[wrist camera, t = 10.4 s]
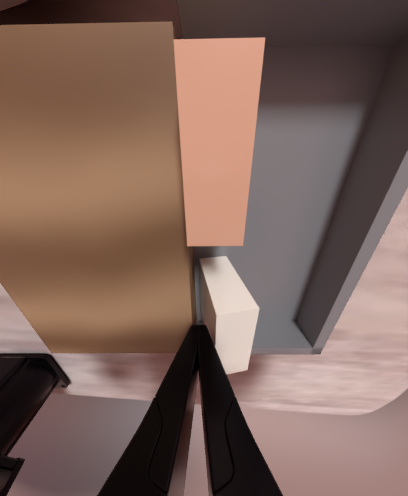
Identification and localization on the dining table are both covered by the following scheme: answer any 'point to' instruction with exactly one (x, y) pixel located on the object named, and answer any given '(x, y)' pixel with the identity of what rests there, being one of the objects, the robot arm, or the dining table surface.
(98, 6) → the dining table surface
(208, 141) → the terracotta tile
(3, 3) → the bowl
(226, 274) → the cream tile
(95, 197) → the board
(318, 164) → the tray
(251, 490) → the robot arm
